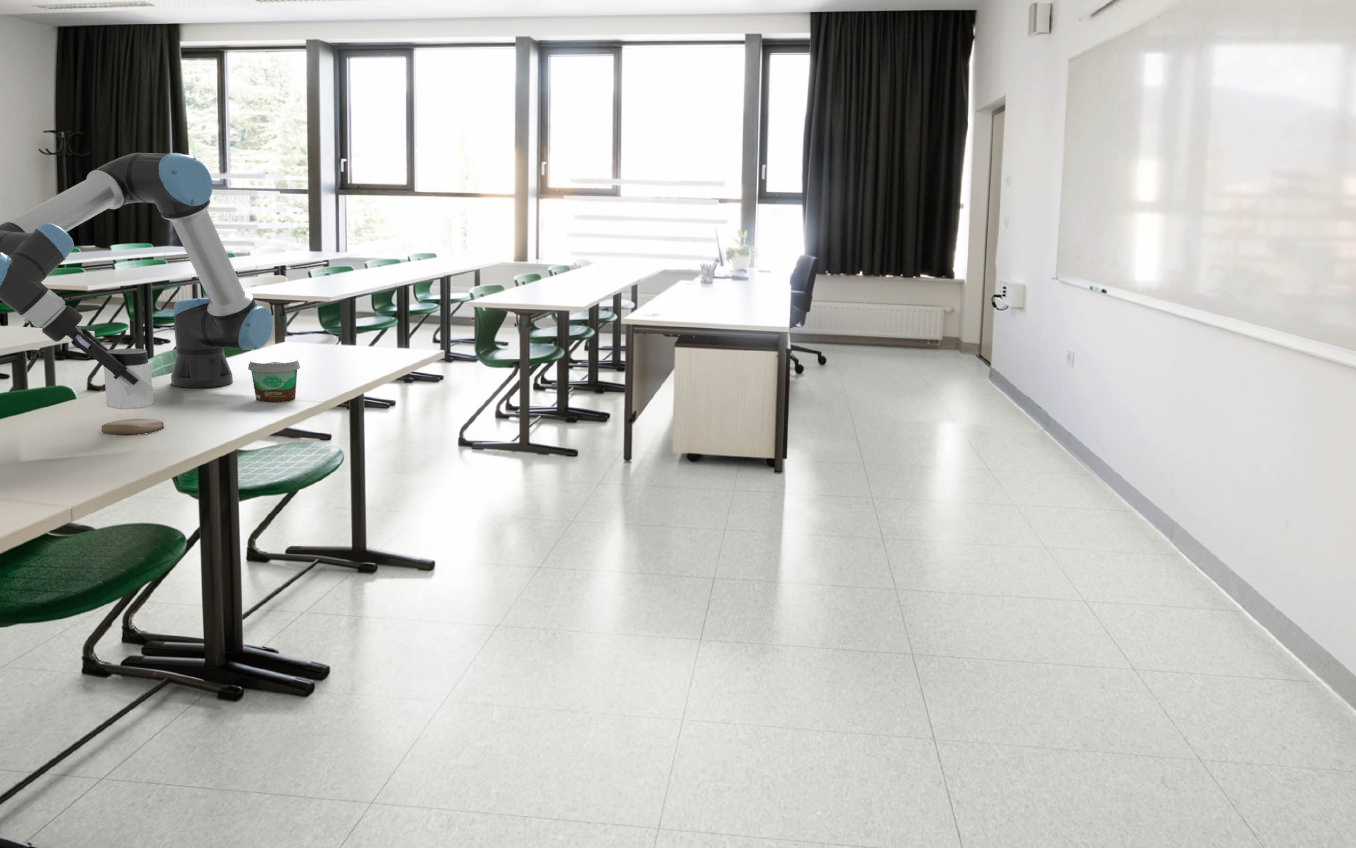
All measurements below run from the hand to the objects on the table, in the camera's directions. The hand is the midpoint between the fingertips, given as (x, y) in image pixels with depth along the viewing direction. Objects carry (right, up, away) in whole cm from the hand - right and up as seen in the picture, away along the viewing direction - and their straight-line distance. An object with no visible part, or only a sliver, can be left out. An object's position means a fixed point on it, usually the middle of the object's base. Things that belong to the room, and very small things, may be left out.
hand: (146, 388), depth 221 cm
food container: (+15, -2, +35) cm, 38 cm away
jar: (-3, -4, -1) cm, 5 cm away
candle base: (-3, -9, 0) cm, 9 cm away
